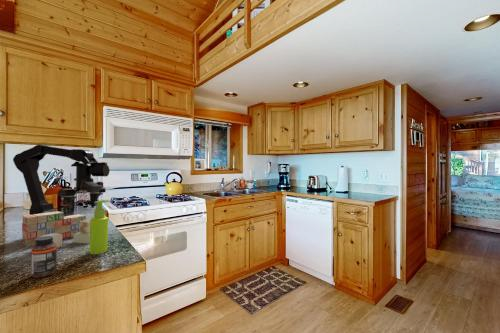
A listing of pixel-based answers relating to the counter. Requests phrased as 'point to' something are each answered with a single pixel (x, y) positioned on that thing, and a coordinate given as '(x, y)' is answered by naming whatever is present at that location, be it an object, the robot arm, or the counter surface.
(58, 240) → the grey cube
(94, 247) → the soap dispenser
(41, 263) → the supplement bottle
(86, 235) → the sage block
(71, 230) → the stack of blocks
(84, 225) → the maple cube
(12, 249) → the counter surface
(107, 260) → the counter surface
